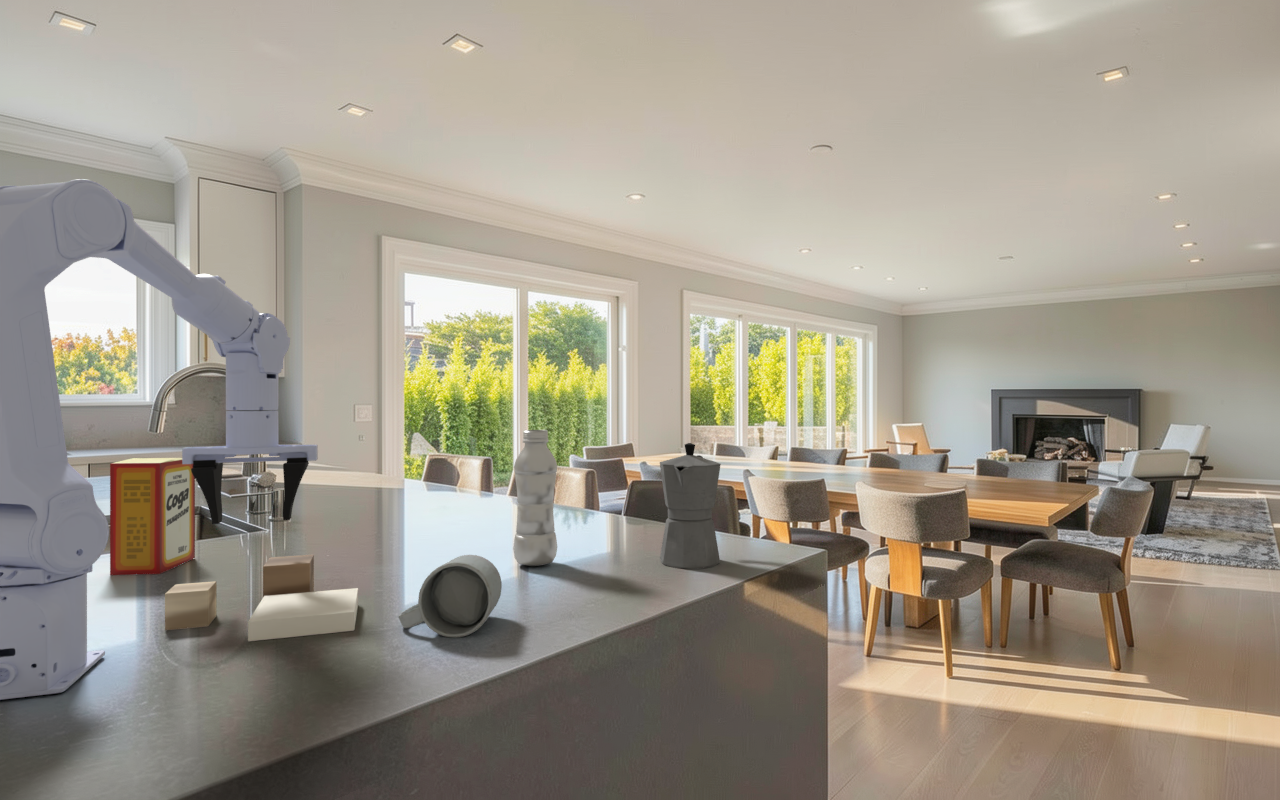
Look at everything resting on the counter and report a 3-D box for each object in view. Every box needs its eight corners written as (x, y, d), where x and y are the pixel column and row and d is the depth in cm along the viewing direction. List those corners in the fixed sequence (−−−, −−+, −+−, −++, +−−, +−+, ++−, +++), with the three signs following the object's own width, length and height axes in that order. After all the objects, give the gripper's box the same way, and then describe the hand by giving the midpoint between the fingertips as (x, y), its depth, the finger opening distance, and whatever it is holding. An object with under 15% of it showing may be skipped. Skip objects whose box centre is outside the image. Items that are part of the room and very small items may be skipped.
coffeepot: (712, 574, 99) (712, 446, 99) (647, 569, 102) (648, 445, 102) (729, 551, 114) (729, 440, 114) (672, 548, 116) (673, 439, 116)
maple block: (208, 627, 76) (208, 590, 76) (165, 631, 75) (165, 593, 75) (216, 616, 80) (216, 581, 80) (175, 620, 79) (175, 584, 79)
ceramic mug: (505, 613, 81) (503, 546, 81) (492, 637, 73) (490, 563, 73) (412, 616, 81) (410, 548, 81) (388, 640, 72) (387, 565, 72)
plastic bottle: (505, 568, 102) (505, 431, 102) (525, 558, 109) (525, 429, 109) (545, 571, 100) (545, 431, 100) (564, 561, 107) (564, 429, 107)
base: (354, 630, 75) (354, 611, 75) (248, 641, 71) (248, 621, 71) (358, 604, 84) (358, 587, 84) (264, 613, 81) (264, 595, 81)
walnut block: (309, 604, 85) (309, 563, 85) (263, 608, 83) (263, 566, 83) (313, 593, 89) (313, 554, 89) (269, 597, 88) (269, 557, 88)
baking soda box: (149, 559, 108) (149, 455, 108) (194, 558, 109) (194, 455, 109) (110, 575, 99) (110, 460, 99) (159, 573, 99) (159, 460, 99)
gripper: (319, 409, 93) (319, 512, 93) (192, 410, 88) (192, 519, 88) (315, 410, 87) (315, 521, 87) (177, 411, 81) (177, 528, 81)
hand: (252, 520), depth 87 cm, fingers open, 7 cm apart
